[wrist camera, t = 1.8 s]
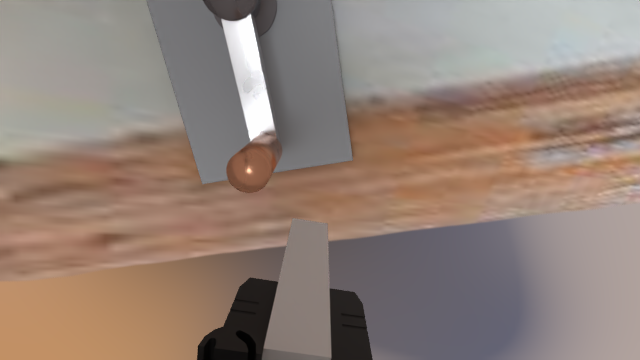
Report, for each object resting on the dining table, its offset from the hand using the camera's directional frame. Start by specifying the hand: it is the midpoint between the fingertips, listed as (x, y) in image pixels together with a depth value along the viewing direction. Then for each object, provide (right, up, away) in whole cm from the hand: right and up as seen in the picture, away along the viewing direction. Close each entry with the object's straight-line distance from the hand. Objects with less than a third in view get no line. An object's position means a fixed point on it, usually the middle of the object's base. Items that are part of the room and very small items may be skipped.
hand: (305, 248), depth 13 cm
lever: (-6, +16, +15) cm, 23 cm away
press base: (-6, +16, +18) cm, 25 cm away
